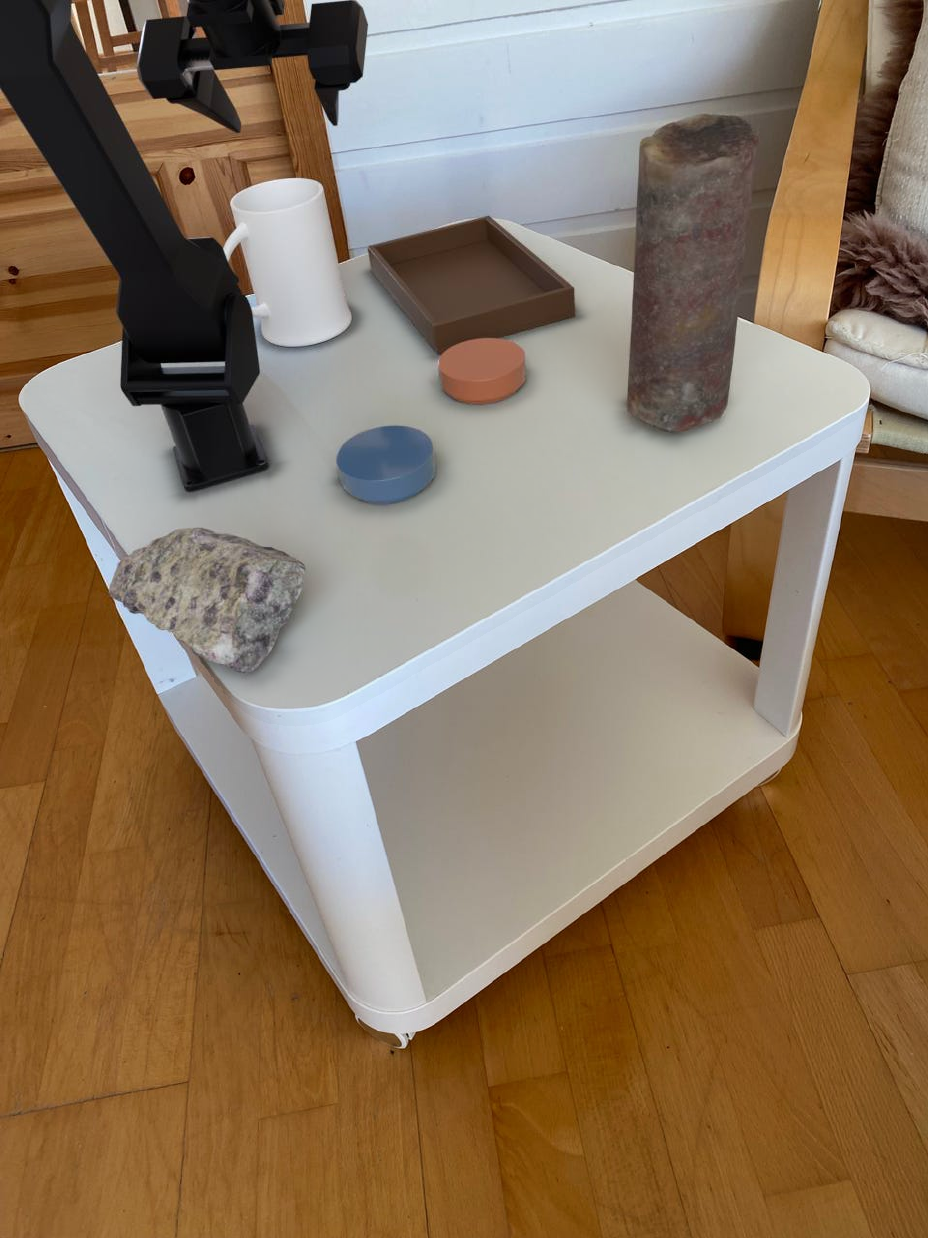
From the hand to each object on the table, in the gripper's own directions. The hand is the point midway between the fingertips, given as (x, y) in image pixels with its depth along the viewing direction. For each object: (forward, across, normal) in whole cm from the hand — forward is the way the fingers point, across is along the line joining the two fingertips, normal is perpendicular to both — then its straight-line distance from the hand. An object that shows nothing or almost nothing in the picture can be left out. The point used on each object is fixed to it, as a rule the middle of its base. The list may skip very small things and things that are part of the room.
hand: (287, 124), depth 85 cm
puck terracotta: (+1, -19, +25) cm, 32 cm away
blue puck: (-6, -14, +36) cm, 39 cm away
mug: (+7, 0, +17) cm, 18 cm away
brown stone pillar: (-1, -35, +30) cm, 46 cm away
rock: (-18, -4, +53) cm, 56 cm away
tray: (+11, -15, +11) cm, 22 cm away
